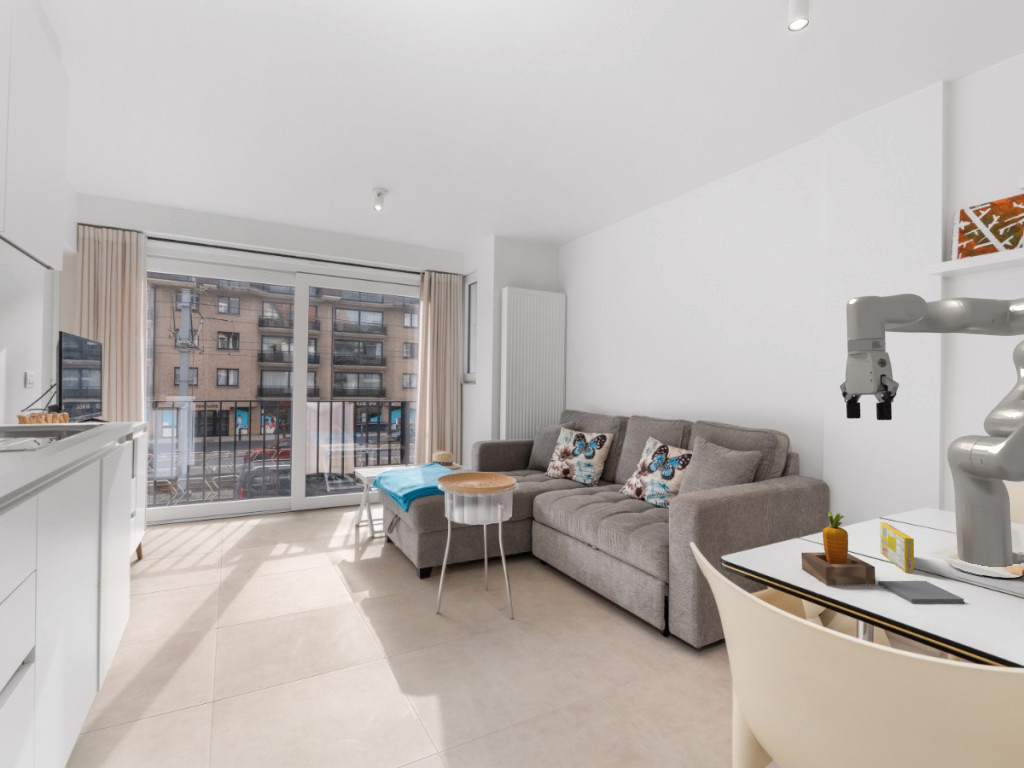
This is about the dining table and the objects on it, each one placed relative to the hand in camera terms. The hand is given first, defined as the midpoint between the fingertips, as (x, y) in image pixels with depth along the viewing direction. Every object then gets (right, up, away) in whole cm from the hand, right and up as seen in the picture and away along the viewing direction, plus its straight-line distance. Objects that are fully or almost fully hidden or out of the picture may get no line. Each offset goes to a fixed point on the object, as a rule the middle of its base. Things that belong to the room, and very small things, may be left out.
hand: (868, 419), depth 121 cm
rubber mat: (0, -36, -15) cm, 39 cm away
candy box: (+10, -36, +5) cm, 38 cm away
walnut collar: (-10, -36, -4) cm, 38 cm away
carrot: (-10, -37, -4) cm, 38 cm away
